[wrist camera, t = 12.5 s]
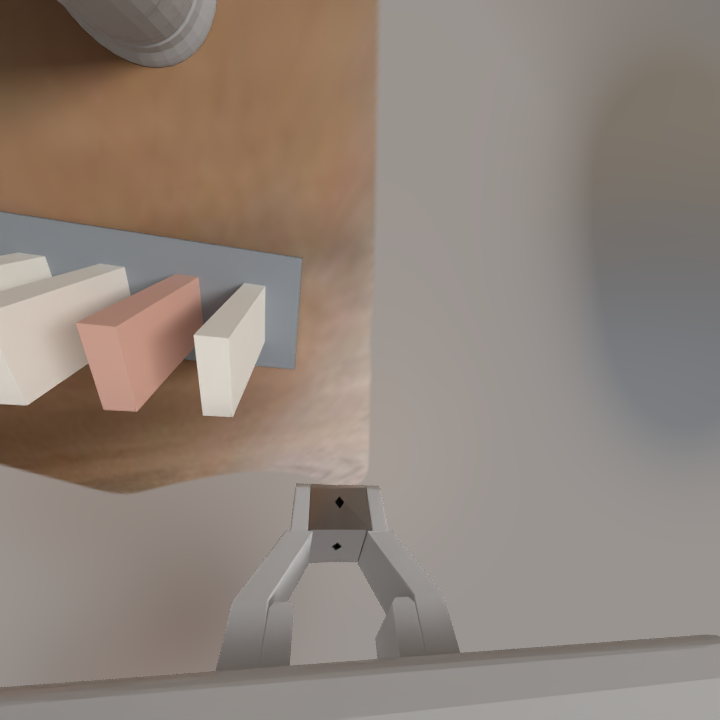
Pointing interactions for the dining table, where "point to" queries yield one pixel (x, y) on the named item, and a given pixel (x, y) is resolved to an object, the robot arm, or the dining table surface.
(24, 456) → the dining table surface
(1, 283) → the domino
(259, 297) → the domino
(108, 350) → the domino
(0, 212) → the mat
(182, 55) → the grey mug
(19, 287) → the domino
